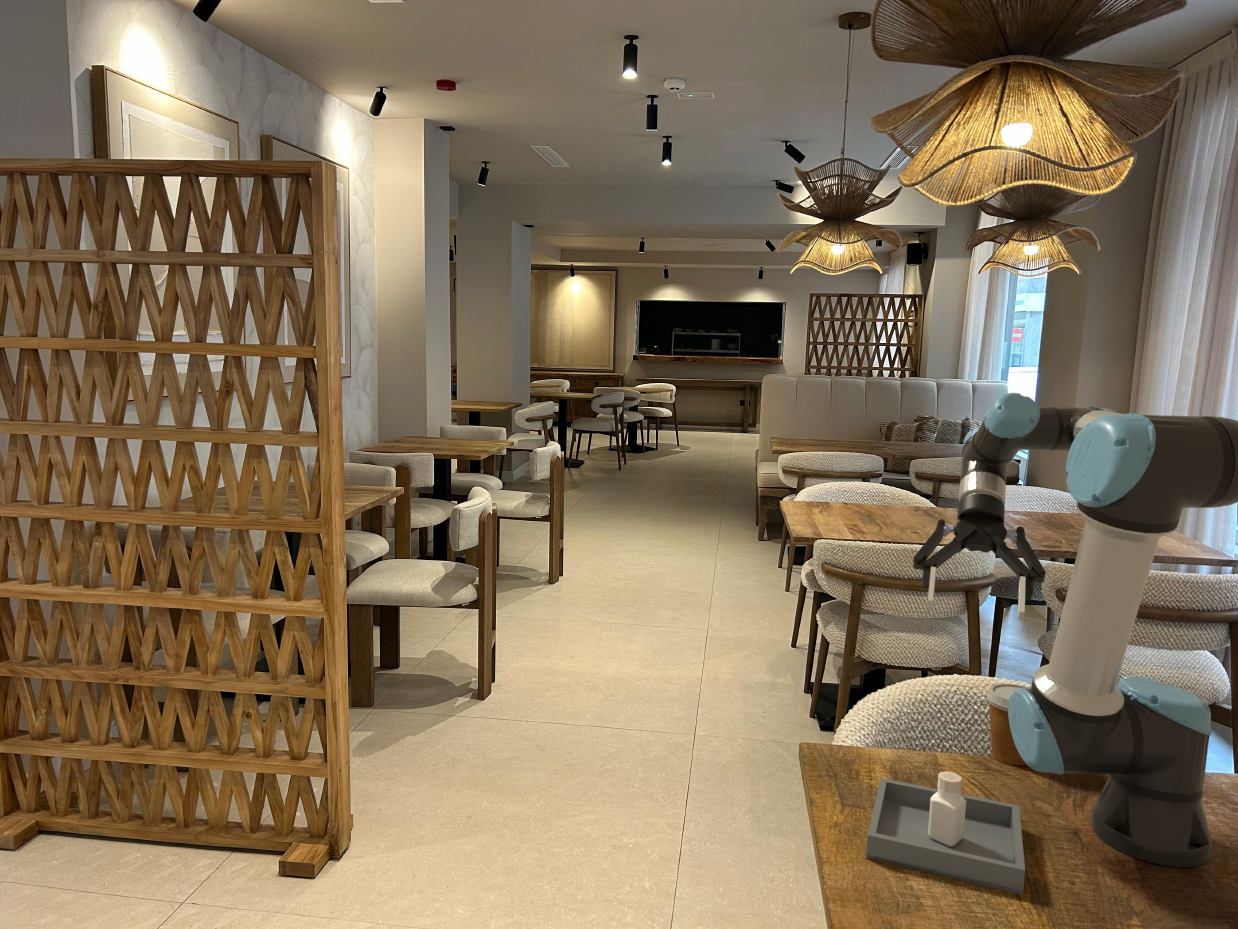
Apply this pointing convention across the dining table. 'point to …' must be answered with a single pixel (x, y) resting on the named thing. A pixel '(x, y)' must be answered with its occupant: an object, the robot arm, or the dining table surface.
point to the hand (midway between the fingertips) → (974, 610)
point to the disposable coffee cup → (1002, 724)
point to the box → (976, 858)
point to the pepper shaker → (947, 810)
